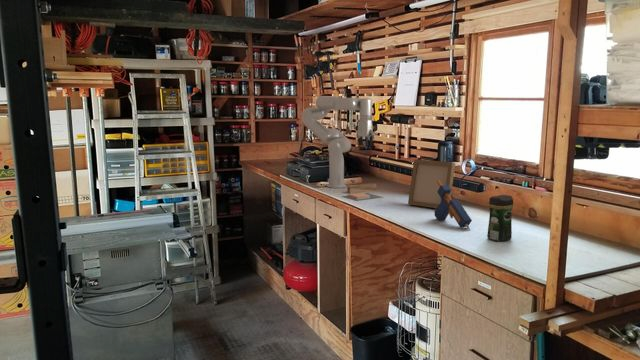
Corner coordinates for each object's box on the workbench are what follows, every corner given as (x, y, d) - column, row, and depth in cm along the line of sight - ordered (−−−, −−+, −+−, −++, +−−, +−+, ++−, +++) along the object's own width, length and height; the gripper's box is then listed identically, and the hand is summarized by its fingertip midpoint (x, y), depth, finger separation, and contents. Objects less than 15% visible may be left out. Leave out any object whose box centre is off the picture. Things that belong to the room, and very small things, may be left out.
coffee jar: (498, 235, 211) (501, 192, 208) (514, 239, 204) (517, 195, 201) (483, 238, 206) (485, 194, 203) (499, 243, 199) (502, 198, 196)
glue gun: (455, 248, 226) (469, 227, 216) (421, 200, 244) (432, 178, 234) (465, 246, 229) (480, 225, 218) (430, 198, 247) (442, 177, 237)
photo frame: (445, 211, 255) (448, 163, 252) (407, 205, 268) (409, 160, 265) (456, 206, 267) (459, 160, 263) (419, 201, 280) (421, 158, 276)
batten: (347, 194, 302) (347, 186, 301) (373, 191, 312) (373, 183, 311) (350, 195, 299) (350, 187, 298) (376, 191, 310) (376, 184, 309)
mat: (340, 197, 291) (340, 196, 291) (367, 193, 302) (367, 192, 301) (356, 202, 278) (356, 201, 278) (384, 198, 288) (384, 197, 288)
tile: (360, 195, 294) (348, 196, 290) (360, 192, 294) (348, 194, 289) (369, 197, 287) (357, 199, 282) (369, 195, 287) (357, 196, 282)
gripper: (352, 118, 312) (352, 145, 315) (369, 119, 297) (368, 147, 300) (362, 117, 316) (361, 144, 319) (379, 118, 301) (378, 146, 304)
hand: (365, 145), depth 309 cm, fingers open, 9 cm apart
